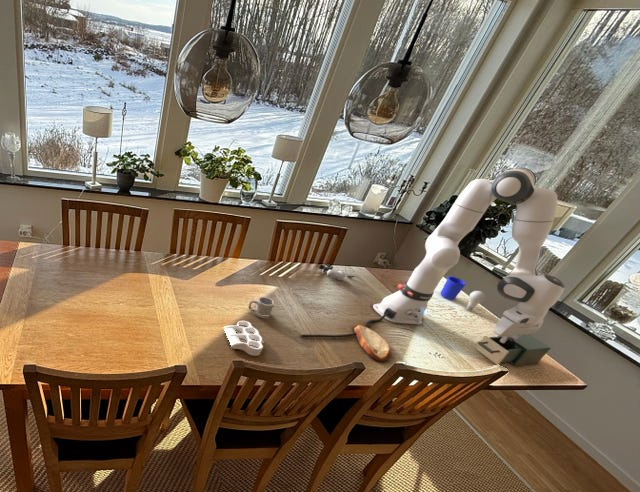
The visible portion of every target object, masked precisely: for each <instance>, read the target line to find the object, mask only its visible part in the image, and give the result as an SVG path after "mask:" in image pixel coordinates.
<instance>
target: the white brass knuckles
mask: <svg viewBox="0 0 640 492" xmlns="http://www.w3.org/2000/svg"><path fill="white" fill-rule="evenodd" d="M239 325H245V326H247V327H244V326H239ZM223 329H224V331H225V332H224V331H223V332H224V334H225V333H226V335H225V337H226V336H227V337H226V339H227V338H228V339H227V340H229V342H230V344H229V346H230V345H231V347H244V348H246V349H247V350H248V351H250V352H252V353H259V354H252V353H250V352H248V351H247V350H246V349H243V348H242V350H241V351H243V352H245V353H246V354H247V355H249V356H253V357H257V356H260V355H261V354H262V352H263V349H264V345H263V344H264V343H266V341H264V340H263V337H262V336H261V335H260V331H259V330H258V329H257V328H255V327H254V326H252V323H251V322H249V321H248V320H239V321H237V323H236V325H225V326H224V327H222V330H223ZM236 329H237V330H239V331H241V332H242V333H240V332H238V331H235V330H236ZM236 332H237V333H236ZM250 332H253V333H254V334H253V333H250ZM239 338H243V339H245V340H246V341H245V340H240V339H239ZM252 339H255V340H252ZM256 340H257V341H256ZM229 342H228V343H229ZM246 342H247V343H246ZM249 345H253V346H256V347H258V348H256V347H253V346H249ZM231 347H230V348H231ZM260 352H261V353H260Z"/></svg>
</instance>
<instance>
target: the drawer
mask: <svg viewBox="0 0 640 492" xmlns="http://www.w3.org/2000/svg"><path fill="white" fill-rule="evenodd" d="M500 337H501V336H498V335H497V336H490V337H489V336H487V335H483V336H482V338H481V340H480V341H478V342H476V343H477V345H476V346H475V350H477V351H478V352H479V353H480V354H482V356H485V357H486V358H487V359H488V360H490V361H491V362H492V363H494V364H496V365H498V366H499V365H500V364H501V363H510V362H511V361H516V360H517V358H518V357H519V356H520V355H521V354H522V352H523V351H524V349H522V348H521V347H519V346H518V345H516V344H515V345H514V346H513V347H512V348H509V349H506V348H505V347H503V346H502V345H500V344H499V343H497V341H498V340H499V338H500Z"/></svg>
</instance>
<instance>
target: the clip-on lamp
mask: <svg viewBox="0 0 640 492" xmlns="http://www.w3.org/2000/svg"><path fill="white" fill-rule="evenodd" d="M318 269H319V270H322V271H321V272H322V274H325V273H326V275H327V276H328V277H331V278H334V279H335V280H336V281H343V280H344V279H345V278H346V277H347V278H356V276H355V275H347V267H346V266H344V268H343V270H333V269H334V266H333V265H331V264H327V265H326V264H323V263H321V264H320V263H319V266H318Z"/></svg>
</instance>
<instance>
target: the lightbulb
mask: <svg viewBox="0 0 640 492" xmlns="http://www.w3.org/2000/svg"><path fill="white" fill-rule="evenodd" d="M468 297H469V299H468V302H467V306H466V307H465V309H466V311H473V309H474V308H476V306H477V305H479V304H481V303H483V302H484V301H485V299H486V295H485V293H484V292H483V291H480V290H474V291H472V292H470V294H469V296H468Z"/></svg>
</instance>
